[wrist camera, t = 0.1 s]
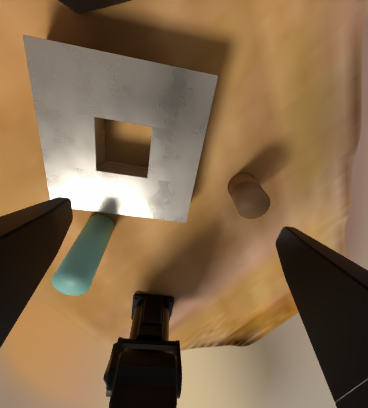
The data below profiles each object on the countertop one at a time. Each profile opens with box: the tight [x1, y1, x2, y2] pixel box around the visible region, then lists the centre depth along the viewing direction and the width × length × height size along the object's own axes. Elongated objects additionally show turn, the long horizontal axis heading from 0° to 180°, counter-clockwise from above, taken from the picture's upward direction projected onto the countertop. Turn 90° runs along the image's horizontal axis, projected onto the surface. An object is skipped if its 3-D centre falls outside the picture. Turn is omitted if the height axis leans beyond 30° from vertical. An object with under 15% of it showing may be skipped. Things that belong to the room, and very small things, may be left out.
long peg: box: [52, 214, 114, 296], centre depth 23 cm, size 3×3×9 cm
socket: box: [23, 35, 218, 223], centre depth 20 cm, size 14×14×3 cm
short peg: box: [228, 173, 270, 219], centre depth 23 cm, size 3×3×4 cm
